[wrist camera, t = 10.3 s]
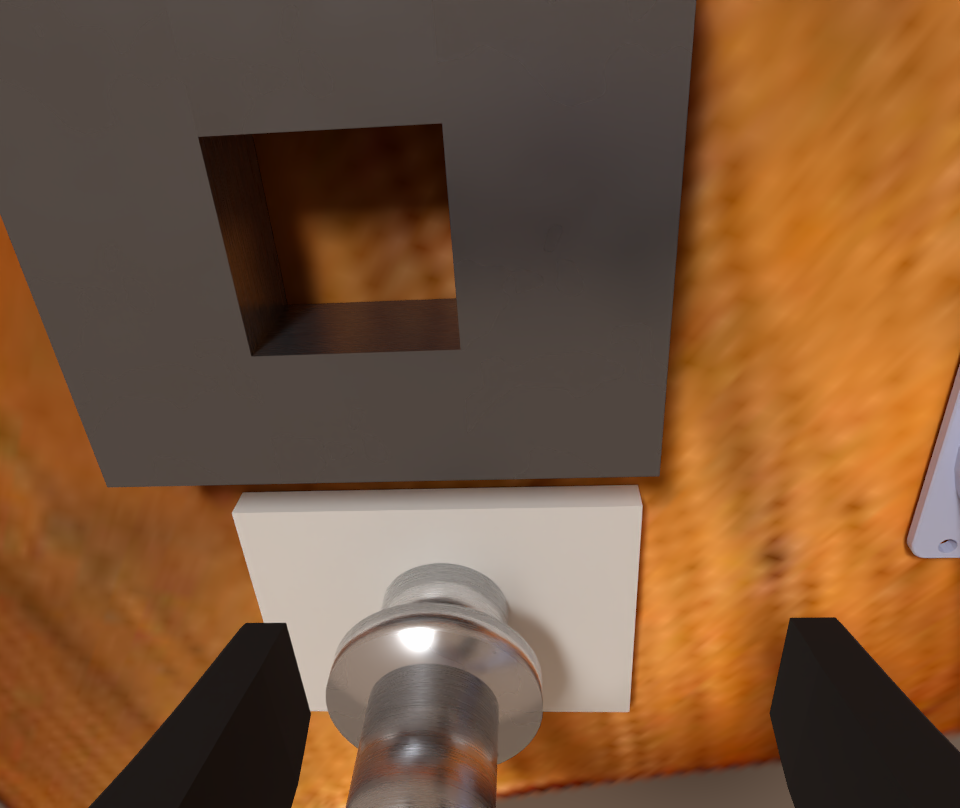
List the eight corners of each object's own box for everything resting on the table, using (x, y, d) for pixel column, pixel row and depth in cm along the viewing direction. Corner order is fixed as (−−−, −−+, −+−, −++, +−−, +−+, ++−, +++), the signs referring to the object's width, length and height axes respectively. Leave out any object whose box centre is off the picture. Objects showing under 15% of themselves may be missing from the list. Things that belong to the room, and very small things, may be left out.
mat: (637, 484, 22) (642, 506, 21) (625, 687, 26) (629, 712, 25) (243, 492, 23) (231, 513, 22) (297, 687, 27) (289, 711, 26)
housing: (673, -110, 14) (706, -128, 12) (642, 412, 21) (659, 476, 18) (-4, -58, 15) (-109, -64, 13) (157, 425, 22) (107, 487, 19)
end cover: (537, 535, 22) (545, 829, 14) (542, 673, 25) (550, 975, 17) (337, 539, 22) (243, 825, 15) (366, 674, 25) (301, 968, 18)
